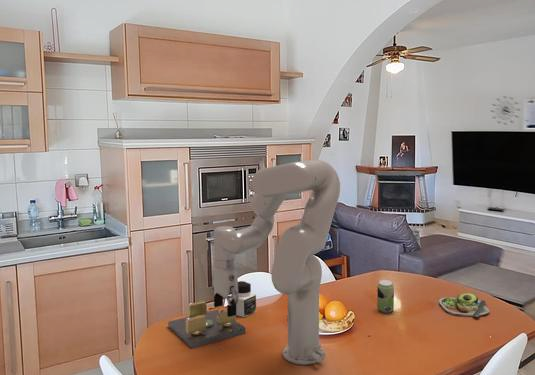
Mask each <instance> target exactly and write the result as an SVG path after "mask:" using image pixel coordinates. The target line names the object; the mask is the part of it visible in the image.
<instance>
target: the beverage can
mask: <svg viewBox="0 0 535 375" xmlns="http://www.w3.org/2000/svg"><path fill="white" fill-rule="evenodd" d="M376 292H377V299H376V300H377V304H376V305H377V307H376V308H377V310H378V311H380V312H381V313H386V314H387V313H391V312H392V311H394V307H395V306H394V305H395V304H394V303H395V302H394V301H395V285H394V283H393V281H392V280H390V279H380V280H379V281H378V284H377V290H376Z"/></svg>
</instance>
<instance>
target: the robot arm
mask: <svg viewBox="0 0 535 375" xmlns="http://www.w3.org/2000/svg"><path fill="white" fill-rule="evenodd" d="M340 181H341V180H340V177H339V175H338V173H337V171H336V170H335V168H334V167H333V166H332V165H331V164H330V163H328V162H327V161H324V160H320V159H310V160H301V161H295V162H288V163H284V164H278V165H274V166H270V167H263V168H260V169H258V170H257V172H255V173H254V175H253V177H252V180H251V186H252V187H251V188H252V190H253V191H254V193H255V194H254V196H253V197H252V199H251V200H250V204H249V205H250V209H251V210H252V212H253V213H254V214H255V215H256V216H255V218H254V220H253V222H252V223H251V225H250V226H248V227H244V228H241V229H238V230H236V229H235V228H234V227H232V226H228V225H223V226H217V227H215V228H214V230H213V280H212V281H211V284H212V290H213V293H212V295H213V307H214V308H217V307H222V306H223V305H224V302H223V301H224V299H226V301H227V306H226V309H227V316H228V317H231V316H235V315H236V304H237V302H238V298H239V295H238V282H239V280H238V273H237V261H236V260H237V255H241V254H244V253H247V252H249V251H253V250H255V249H258V248H260V247H261V246H262V245H263V244H264V243H265V241H266V240H267V239H268V237H269V236H270V234H271V232H272V231H273V229H274V228H273V227H274V222H275V215H276V213H277V211H278V210H279V208H280V207H281V205H282V204H283V202H284V200H285V199H286V197H287V196H288V195H291V194H298V193H303V192H309V191H311V194H310V196H309V198H308V199H307V200H306V201H307V202H306V203H305V206H304V209H303V210H304V211H303V214H302V217H301V220H300V222H299V223H298V224H296V225H293V226H290V227H289V228H287V229H286V230H285V231H283V233H282V234H281V236H280V238H279V241H278V244H277V247H276V253H275V256H274V260H273V264H272V268H271V274H270V275H271V276H270V278H271V284H272V286H273V287H274V288H275V290H276V291H277V292H279V293H280V294H282V295H287V345H286V346H285V347H284V348H283V350H282V356H283V358H284V359H285V360H286V361H287V362H289V363H292V364H295V365H302V366H304V365H313V364H317V363H321V362H322V361H323V359H324V358H325V356H326V353H325V350H324V349H323V348H322V345H321V343H320V290H321V289H320V288H321V284H322V283H321V281H322V275H323V271H322V269H323V268H322V264H321V262H320V260H319V258H318V257H317V256H315V254H318V253H320V252H322V250H323V249H324V248H325V247H326V244H327V240H328V236H329V232H330V228H331V226H332V222H333V217H334V214H335V211H336V208H337V205H338V201H339V198H340V193H341V182H340ZM230 298H233V299H232V300H231V301H230ZM236 316H237V315H236Z"/></svg>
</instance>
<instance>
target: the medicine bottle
mask: <svg viewBox="0 0 535 375" xmlns="http://www.w3.org/2000/svg"><path fill="white" fill-rule="evenodd" d="M251 286H252V283H251V282H250V281H247V280H238V295H239V298H238V302H237V304H236V317H237V316H238V317H241V318H247V317H249V316H251V315H253V314H254V313H257V294H256V293H252V287H251ZM232 299H233V298H230V301H231V300H232Z"/></svg>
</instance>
